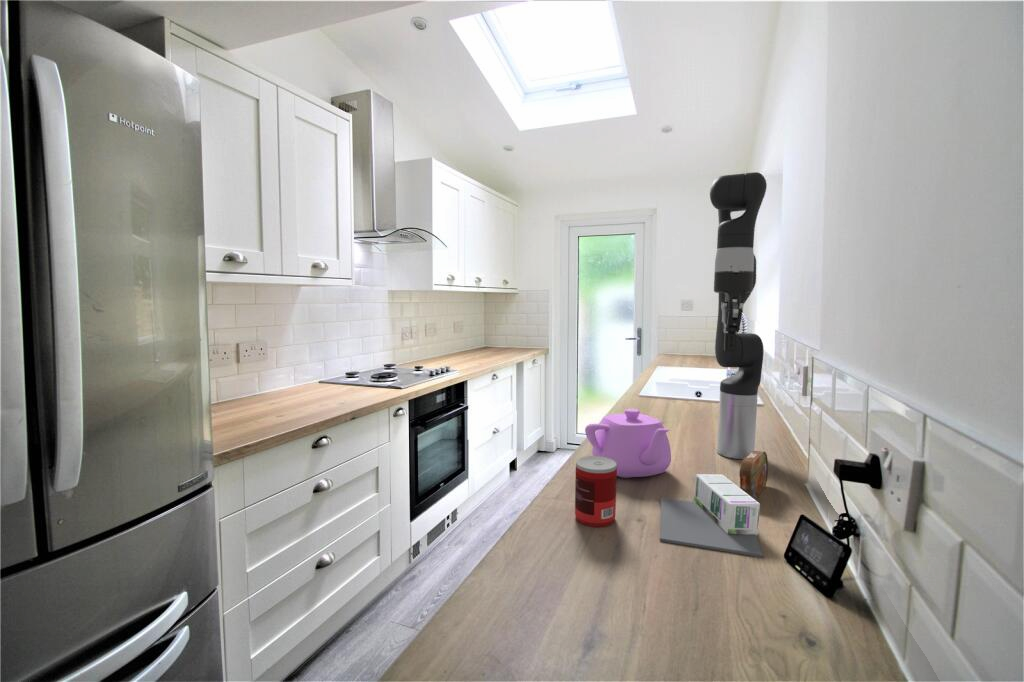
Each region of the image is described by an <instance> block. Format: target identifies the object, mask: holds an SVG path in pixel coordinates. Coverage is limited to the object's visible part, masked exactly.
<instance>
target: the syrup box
mask: <svg viewBox="0 0 1024 682" xmlns="http://www.w3.org/2000/svg"><path fill="white" fill-rule="evenodd" d="M694 502H697V503H698V504H699V505H700V506H701V507H702V508H703V509H704V510H705V511H706V513H707V514H708V515H709V516H710V517H711V518H712V519H713V520H714V521H715V522H716V523H717V524H718V525H719V526H720V527H721V528H722V529H723V530H724V531H725V532H726V533H727V534H741V535H745V534H746V535H747V534H748V535H749V534H755V535H759V534H758V532H759V522H760V509H761V503H760V502H758V501H757V499H756V500H755V499H753V498H752V497H751V496H749V495H748V494H747V493H746V492H744V491H743V490H742V489H740V486H738V485H736V483H734V482H733V481H731V480H730V479H729V478H728V477H726V476H725V475H724V474H717V473H716V474H711V473H710V474H709V473H708V474H707V473H706V474H705V473H703V474H701V473H697V474H695V485H694Z"/></svg>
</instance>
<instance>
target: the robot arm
mask: <svg viewBox="0 0 1024 682" xmlns="http://www.w3.org/2000/svg"><path fill="white" fill-rule="evenodd" d="M767 187H768V185H767V179H766V178H765V176H764V175H763V174H762V173H760V172H745V173H744V172H743V173H735V174H725V175H720V176H718V177H716V179H714V181H713V182H712V184H711V186H710V190H709V198H710V203H711V204H712V206H713V208H715V209H716V210H718V211H717V213H718V215H717V216H718V227H717V238H716V240H717V241H716V254H715V258H714V260H715V261H714V274H713V275H714V281H713V292H714V293H715V294H716V293H717V294H718V306H717V307H718V310H717V312H718V313H717V321H716V331H715V332H716V333H715V343H714V347H715V348H714V350H715V352H714V353H715V354H714V355H715V359H716V363H717V364H718V365H719V366H720V367H723V368H738V370H737V371H736V372H735V374H733V375H731V376H729V377H727V378H724V379H722V380H721V381H720V383H719V384H720V385H719V405H718V406H719V407H718V423H717V424H718V429H717V445H716V450H717V451H716V452H717V453H718V454H719V455H720V456H723V457H726V458H729V459H737V460H743V459H744V458H745V457H746V456H747V455H748V454H749V453H750V452H752V451H756V450H755V449H756V448H755V447H756V445H755V444H756V433H757V432H756V430H757V429H756V428H757V413H758V412H757V411H758V394H759V393H758V392H759V387H760V385H761V381H762V371H763V363H764V351H765V350H764V344H763V343H764V342H763V340H762V338H761V337H760V336H759V334H757V333H749V332H745V333H744V332H742V333H741V332H740V331H741V323H742V317H743V316H742V315H743V313H744V305H745V303H746V302H747V300H748V299H749V297H750V296H751V293H752V292H753V291H754V289H755V286H756V283H757V258H756V255H755V254H754V244H755V243H754V241H755V229H756V221H757V219H758V214H759V212H760V209H761V206H762V203H763V201H764V198H765V195H766V191H767ZM743 211H744V212H743ZM733 212H743V214H741V215H740V216H737V217H735V218H732V216H731V214H732V213H733Z"/></svg>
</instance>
